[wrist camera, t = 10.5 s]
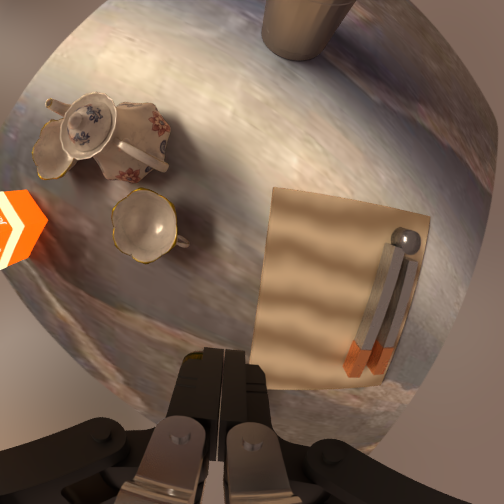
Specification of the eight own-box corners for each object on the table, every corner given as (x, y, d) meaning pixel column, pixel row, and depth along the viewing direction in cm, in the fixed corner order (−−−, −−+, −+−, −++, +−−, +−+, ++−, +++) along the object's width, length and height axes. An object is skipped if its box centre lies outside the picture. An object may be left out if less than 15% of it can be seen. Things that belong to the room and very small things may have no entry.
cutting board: (273, 187, 34) (274, 187, 32) (424, 215, 35) (430, 216, 34) (246, 382, 41) (246, 387, 39) (377, 380, 42) (380, 385, 41)
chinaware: (47, 168, 33) (-30, 181, 17) (92, 74, 29) (20, 46, 13) (180, 262, 38) (134, 327, 22) (246, 158, 33) (236, 152, 17)
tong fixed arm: (398, 255, 35) (409, 260, 32) (408, 257, 35) (419, 262, 32) (366, 364, 39) (373, 375, 36) (376, 364, 39) (383, 374, 36)
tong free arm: (388, 223, 34) (400, 226, 30) (410, 229, 34) (423, 233, 31) (342, 366, 38) (348, 378, 35) (364, 366, 39) (371, 377, 36)
